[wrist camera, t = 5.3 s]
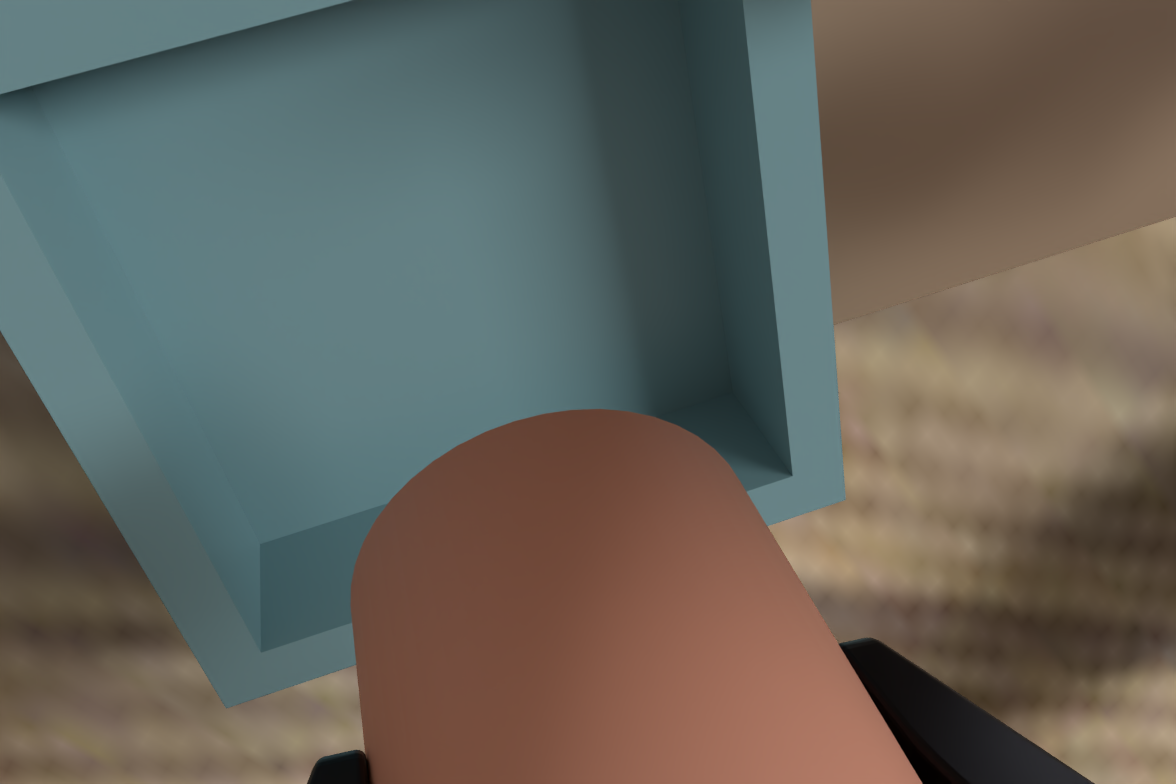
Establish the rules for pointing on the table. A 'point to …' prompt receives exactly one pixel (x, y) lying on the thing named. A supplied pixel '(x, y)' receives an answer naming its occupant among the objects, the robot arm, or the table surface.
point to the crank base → (986, 136)
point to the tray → (399, 266)
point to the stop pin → (598, 623)
